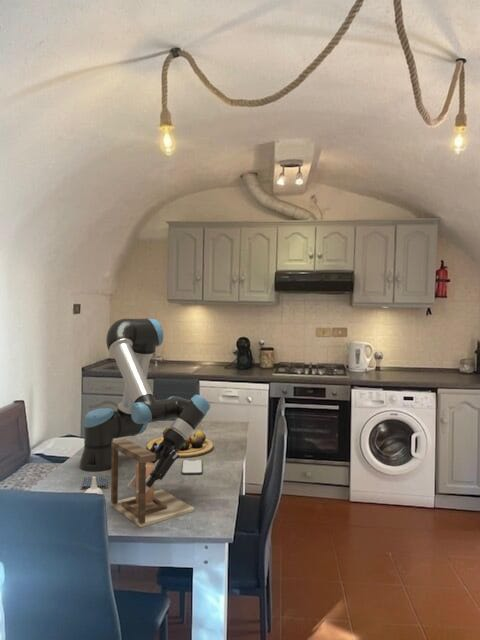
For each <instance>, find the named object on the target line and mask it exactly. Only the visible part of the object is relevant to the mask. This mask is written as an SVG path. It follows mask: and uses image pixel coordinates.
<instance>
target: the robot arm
mask: <svg viewBox="0 0 480 640" xmlns="http://www.w3.org/2000/svg"><path fill="white" fill-rule="evenodd" d="M105 338H106V339H105V340H106V348H107V350H108V353H109V354H110V355H111V356H113V357H114V360H115V362H116V365H117V367H118V370H119V372H120V373H121V377H122V378H123V382H124V390H123V395H122V401H121V402H119V403H118V404H117V409H116V410H113V409H112V408H111V407H109V408H108V407H105V408H103V407H102V408H101V407H100V408H97V409H93V410H90V411H89V412H87V413H86V414H85V415H84V424H83V426H84V432H83V433H84V435H83V436H84V445H83V446H84V447H83V448H84V449H83V451H82V455H81V457H80V460H79V468H80V469H81V470H84V471H88V472H89V471H90V472H103V471H107V470H111V467H112V447H111V445H112V441H114V439H121V438H125V437H126V438H128V437H135V436H137V435H142V434H143V433H144V432H145V431H146V430H147V428H148V425H149V424H150V423H157V422H163V421H171V420H174V421H173V422H172V423H171V425H169V427H170V428H171V429H168V430H167V431H166V433H165V434H164V435H163V434H162V436H163V438H164V440H163V441H162V442H161V443H160V444H157V443H156V442H155V443H154V444H153V446H152V448H151V449H150V450H149V451H151V452H153V453H155V454H156V460H155V461H150V462H152V463H154V464H156V465H155V466H154V471H153V473H150V475H149V476H148V477H147V479H146V492H147V491H148V489H149V488H150V487H151V486H152V485H153V483H154V484H155V482H156V481H158V480H159V481H162V480H163V478H164V477H165V476H166V474H167V473H168V471H169V470H170V468H171V467H172V466H173V464H174V463H175V461H176V460H177V459H179V458H178V457H179V455H178V454H177V453H176V450H177V449H178V450H179V449H181V447H182V446H183V445H184V443H185V440H187V439H188V438H189V436H190V435H192V433H193V432H194V431H195V430H196V429H197V427H198V426H199V424H200V423H201V422H202V421H203V419H204V418H205V417H206V415H207V413H208V412H209V410H210V409H211V404H210V401H208V400H207V399H206V398H205V397H203V396H201V395H199V394H194V395H193V396H192V397H191V398H190V399H186V398H183V397H180V396H169V397H168V398H166V399H165V398H164V399H157V400H156V398H155V397H154V394H153V392H152V391H153V390H151V388H150V385H149V383H148V381H147V379H148V374H149V373H148V372H149V368H150V361H151V356H152V355H154V354H155V353H156V350H157V349H156V348H157V347H159V346H161V345H163V341H164V330H163V327H162V324H161V323H160V322H159V321H158V320H157V319H154V318H148V317H147V318H121V319H118V320H116V321H115V322H113V323H112V324H111V326H110V327H109V328H108V330H107V333H106V337H105ZM126 486H127V487H128V488H129V489H130V490H132V491H134V490H136V473H135V474H134V476H133V477H132V478H131V480H130V481H129V482H128V484H127V485H126ZM137 493H138V491H137Z"/></svg>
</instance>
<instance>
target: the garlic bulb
mask: <svg viewBox="0 0 480 640" xmlns="http://www.w3.org/2000/svg"><path fill="white" fill-rule="evenodd" d="M92 477H93V478H92V484H91V487H90V488H87V490H84V493H97V494H103V495H104V493H103V489H100V488H98V487H97V484H96V477H97V476H92Z"/></svg>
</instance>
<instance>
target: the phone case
mask: <svg viewBox="0 0 480 640" xmlns="http://www.w3.org/2000/svg"><path fill="white" fill-rule="evenodd" d="M203 468H204V465H203V460H202V459H183V460H182V463H181V473H180V474H181V476H202V475H203Z"/></svg>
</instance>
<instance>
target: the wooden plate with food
mask: <svg viewBox="0 0 480 640" xmlns="http://www.w3.org/2000/svg"><path fill="white" fill-rule="evenodd" d="M168 429H171V428H170V426H168V427H166V428H165V429H164V430H163V432H162V436H160V437H157V438H154V439H151V441H148V443H147V444H146V448H145V449H147V450H150V449H151V448H152V446H153V444H154V443H155V442H156V443H157V444H160V443H161V442H162V441H163V440H164V438H163V435H164V434H165V433H166V431H167V430H168ZM213 449H214V444H213V442H212V441H211V440H210V439H208V438H207V437H206V434H205V433H204V431H202V430H200V429H198V430H196V432H194V434H193V435H192V434H191V435H190V436H189V438H188V439H187V440H185V443H184V445H183V446H182V447H181V449H179V450H178V449H177V450H176V453H177V454H178V455H179V457H178V458H177V459H188V458H197V457H201V456H205V455H207V453H208V454H209V453H211V452H212V451H213Z"/></svg>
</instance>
